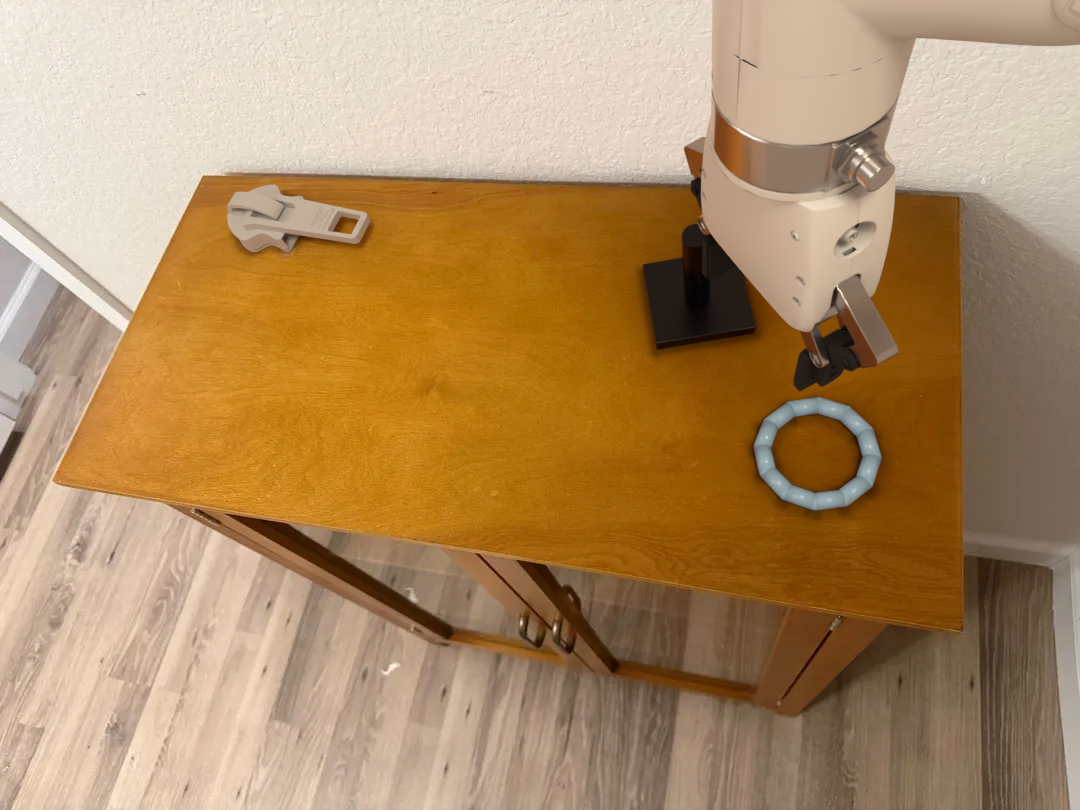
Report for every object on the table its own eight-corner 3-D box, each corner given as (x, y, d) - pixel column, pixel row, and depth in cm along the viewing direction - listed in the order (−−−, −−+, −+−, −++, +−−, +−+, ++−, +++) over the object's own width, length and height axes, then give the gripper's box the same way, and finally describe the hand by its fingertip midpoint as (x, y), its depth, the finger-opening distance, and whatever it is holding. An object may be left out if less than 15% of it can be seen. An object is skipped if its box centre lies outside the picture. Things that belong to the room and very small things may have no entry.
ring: (860, 394, 66) (863, 387, 65) (892, 502, 62) (896, 496, 61) (744, 411, 68) (745, 405, 66) (768, 518, 63) (769, 513, 62)
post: (736, 254, 75) (740, 183, 66) (754, 333, 71) (762, 269, 62) (643, 271, 76) (635, 203, 67) (656, 349, 72) (649, 288, 63)
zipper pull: (358, 273, 83) (341, 249, 79) (224, 246, 88) (202, 222, 84) (387, 215, 86) (372, 189, 82) (255, 192, 91) (236, 167, 87)
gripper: (1020, 197, 30) (913, 393, 45) (756, -28, 38) (741, 203, 53) (855, 292, 29) (803, 457, 44) (623, 44, 37) (646, 256, 52)
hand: (769, 319), depth 49 cm, fingers open, 9 cm apart
